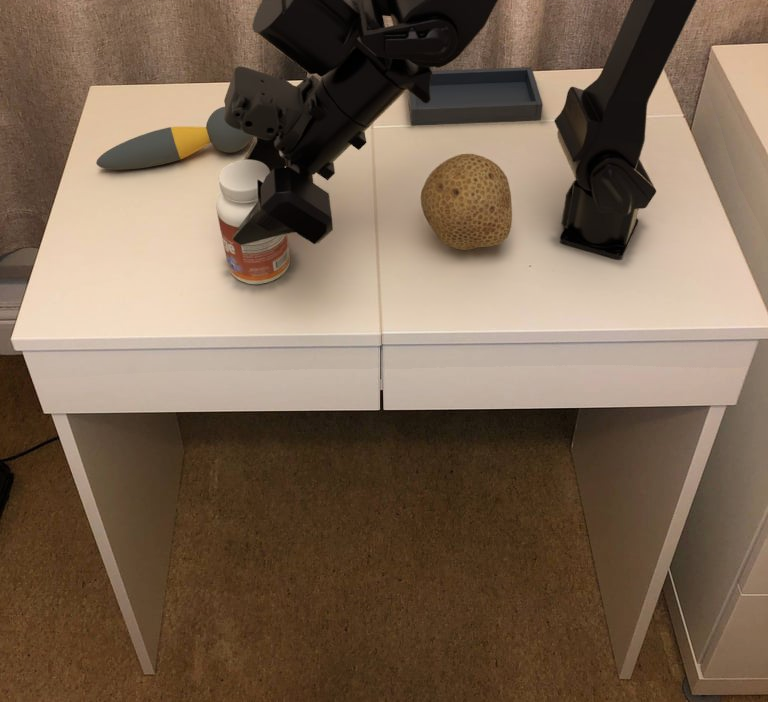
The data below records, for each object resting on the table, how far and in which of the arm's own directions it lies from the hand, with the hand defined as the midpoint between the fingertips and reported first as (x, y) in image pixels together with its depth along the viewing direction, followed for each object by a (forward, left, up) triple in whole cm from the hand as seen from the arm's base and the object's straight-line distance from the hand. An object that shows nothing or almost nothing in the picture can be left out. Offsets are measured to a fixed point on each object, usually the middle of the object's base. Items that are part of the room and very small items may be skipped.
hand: (236, 214), depth 82 cm
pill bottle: (-1, -1, -7) cm, 7 cm away
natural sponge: (-18, -13, -7) cm, 23 cm away
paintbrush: (+16, -13, -7) cm, 22 cm away
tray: (-9, -37, -7) cm, 38 cm away
